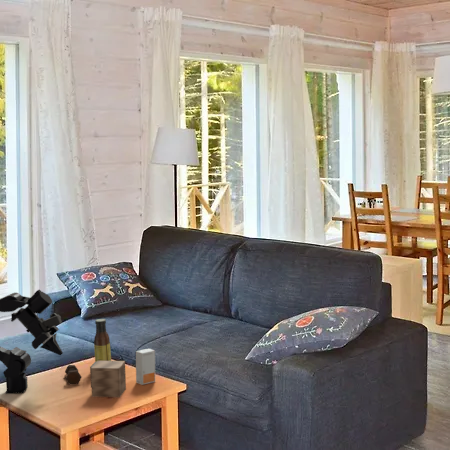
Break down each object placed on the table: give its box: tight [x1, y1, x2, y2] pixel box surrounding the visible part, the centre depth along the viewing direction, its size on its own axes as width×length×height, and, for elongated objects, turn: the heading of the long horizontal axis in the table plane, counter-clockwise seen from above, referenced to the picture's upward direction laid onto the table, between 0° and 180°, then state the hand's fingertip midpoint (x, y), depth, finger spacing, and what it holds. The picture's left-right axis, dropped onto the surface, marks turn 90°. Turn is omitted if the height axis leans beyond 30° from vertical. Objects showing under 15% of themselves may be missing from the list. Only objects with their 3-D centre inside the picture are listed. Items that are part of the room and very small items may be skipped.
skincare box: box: [135, 348, 156, 386], centre depth 270 cm, size 6×4×12 cm
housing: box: [89, 360, 127, 398], centre depth 259 cm, size 11×9×10 cm
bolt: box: [64, 364, 82, 386], centre depth 277 cm, size 6×5×15 cm
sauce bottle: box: [93, 318, 112, 362], centre depth 287 cm, size 7×6×20 cm
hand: (61, 354), depth 260 cm, fingers closed
